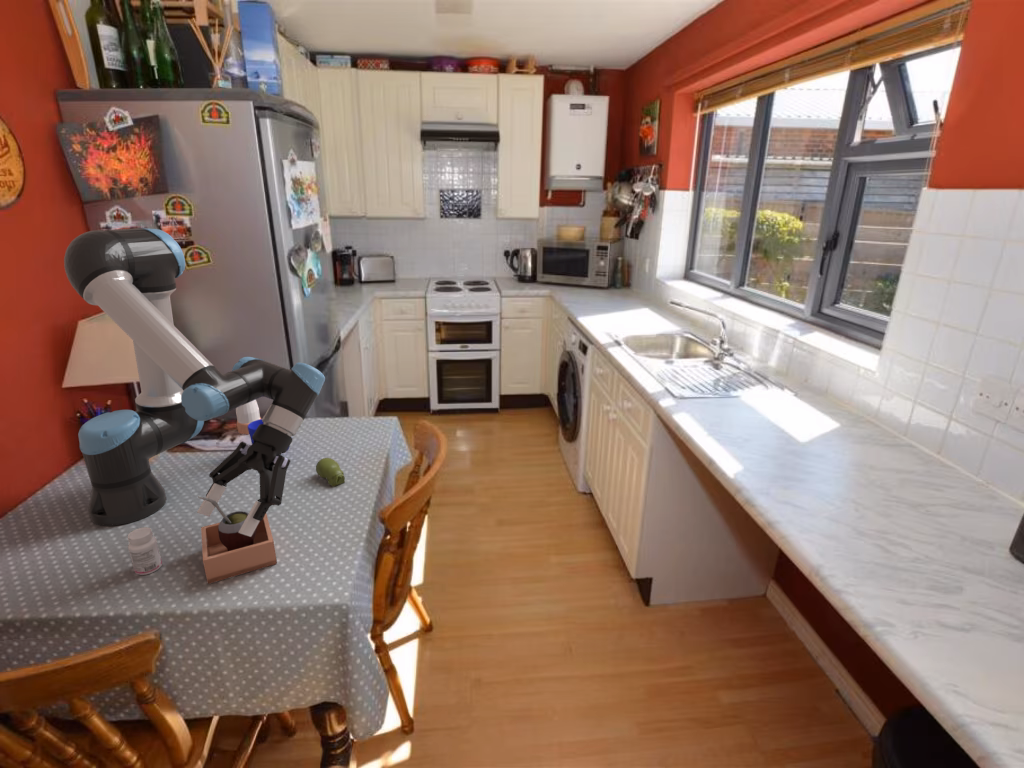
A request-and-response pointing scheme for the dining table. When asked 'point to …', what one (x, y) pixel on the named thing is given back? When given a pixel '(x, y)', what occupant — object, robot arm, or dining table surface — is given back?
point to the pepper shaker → (247, 416)
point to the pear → (330, 471)
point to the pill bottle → (144, 551)
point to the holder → (236, 553)
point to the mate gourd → (232, 529)
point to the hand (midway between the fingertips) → (223, 524)
